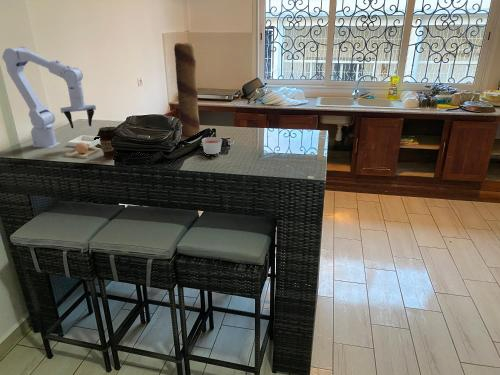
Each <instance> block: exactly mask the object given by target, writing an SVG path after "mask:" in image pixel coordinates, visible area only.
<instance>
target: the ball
mask: <svg viewBox="0 0 500 375" xmlns="http://www.w3.org/2000/svg"><path fill="white" fill-rule="evenodd" d="M75 148H76V151H77V152H78V153H81V154H83V153H86V152H87V150H88V146H87V144H86V143H84V142H79V143H78V144H77V145H76V147H75Z"/></svg>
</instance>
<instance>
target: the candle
mask: <svg viewBox="0 0 500 375" xmlns="http://www.w3.org/2000/svg"><path fill="white" fill-rule="evenodd" d="M201 143H202V147H203V153H204V152H205V153H206V154H216V153H219V152H220V153H221V149H222V144H223V139H222V138H220V137H215V136H210V137H204V138H202V139H201ZM205 153H204V154H205ZM206 154H205V155H206Z"/></svg>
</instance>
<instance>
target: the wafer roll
mask: <svg viewBox="0 0 500 375" xmlns="http://www.w3.org/2000/svg"><path fill="white" fill-rule="evenodd" d="M194 46H195V45H194V44H193V43H191V42H190V43H186V42H183V43H182V42H175V43H174V46H173V47H174V48H173V49H174V50H173V51H174V60H175V74H176V75H175V76H176V88H177V94H178V96H177V99H178V100H177V101H178V119H179V122H180V121H181V123H182V125H183V126H182V134H181V135H182V136H183V137H194V136H193V135H194V134H196V133H198V132H200V130H201V129H200V126H201V125H200V123H201V122H200V117H199V105H198V103H199V101H198V95H199V94H198V85H197V84H198V83H197V71H196V70H197V66H196V62H197V61H196V56H195V54H196V53H195V47H194Z"/></svg>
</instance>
